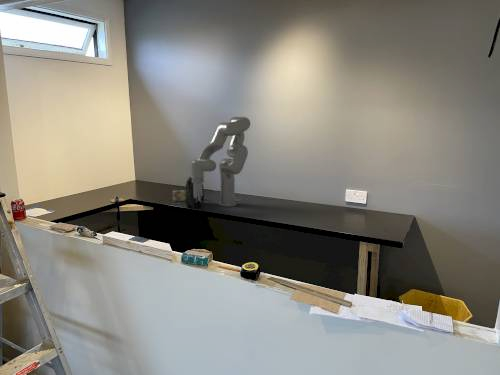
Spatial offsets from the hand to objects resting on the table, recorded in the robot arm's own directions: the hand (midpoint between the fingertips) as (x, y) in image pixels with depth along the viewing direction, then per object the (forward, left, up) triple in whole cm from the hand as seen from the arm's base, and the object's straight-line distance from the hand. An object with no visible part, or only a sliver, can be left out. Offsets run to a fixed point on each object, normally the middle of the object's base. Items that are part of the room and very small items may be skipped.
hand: (198, 207), depth 225 cm
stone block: (0, -12, -2) cm, 12 cm away
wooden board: (+5, -27, -1) cm, 27 cm away
